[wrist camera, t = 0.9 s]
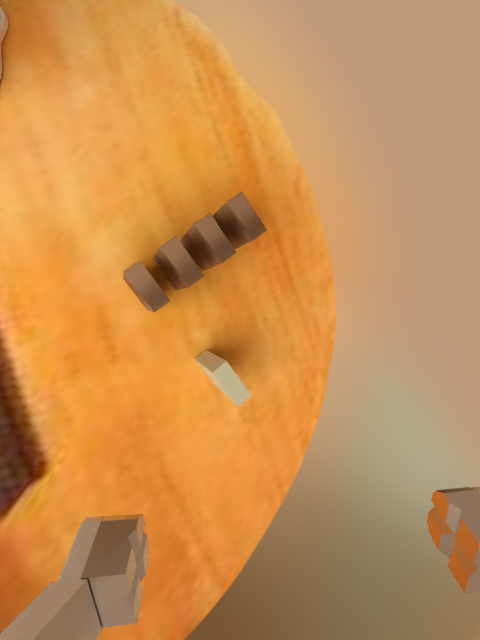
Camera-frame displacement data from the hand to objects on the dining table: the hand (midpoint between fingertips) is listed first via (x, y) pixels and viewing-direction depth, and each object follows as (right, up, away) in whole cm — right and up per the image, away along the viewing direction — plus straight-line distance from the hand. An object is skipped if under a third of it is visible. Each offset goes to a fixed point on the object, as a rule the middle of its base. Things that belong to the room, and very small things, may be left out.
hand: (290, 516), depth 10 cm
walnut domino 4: (-4, +17, +38) cm, 42 cm away
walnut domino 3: (-7, +15, +37) cm, 41 cm away
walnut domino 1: (-14, +9, +35) cm, 39 cm away
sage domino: (-5, -1, +39) cm, 39 cm away
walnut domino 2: (-11, +12, +36) cm, 40 cm away
